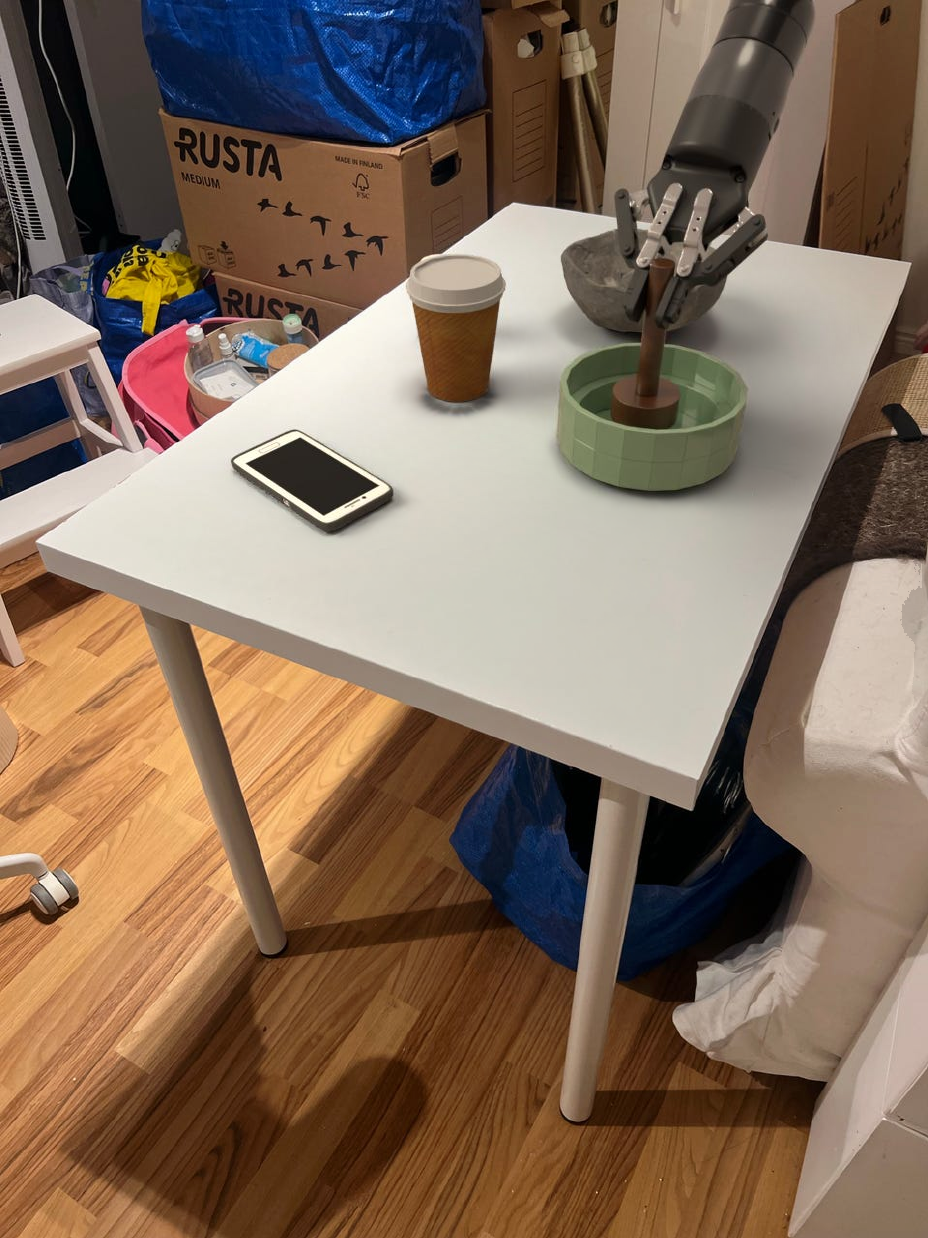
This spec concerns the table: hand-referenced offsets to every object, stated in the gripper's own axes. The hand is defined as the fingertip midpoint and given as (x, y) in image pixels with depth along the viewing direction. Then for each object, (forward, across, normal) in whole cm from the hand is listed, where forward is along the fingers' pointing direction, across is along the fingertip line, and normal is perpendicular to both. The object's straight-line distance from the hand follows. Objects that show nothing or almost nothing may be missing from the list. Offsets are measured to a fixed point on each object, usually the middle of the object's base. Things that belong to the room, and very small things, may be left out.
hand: (646, 320), depth 75 cm
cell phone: (+23, -22, -4) cm, 32 cm away
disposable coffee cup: (+8, -21, +11) cm, 25 cm away
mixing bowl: (+8, 0, +11) cm, 13 cm away
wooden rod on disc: (+6, 0, +8) cm, 10 cm away
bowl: (-9, -11, +28) cm, 31 cm away
